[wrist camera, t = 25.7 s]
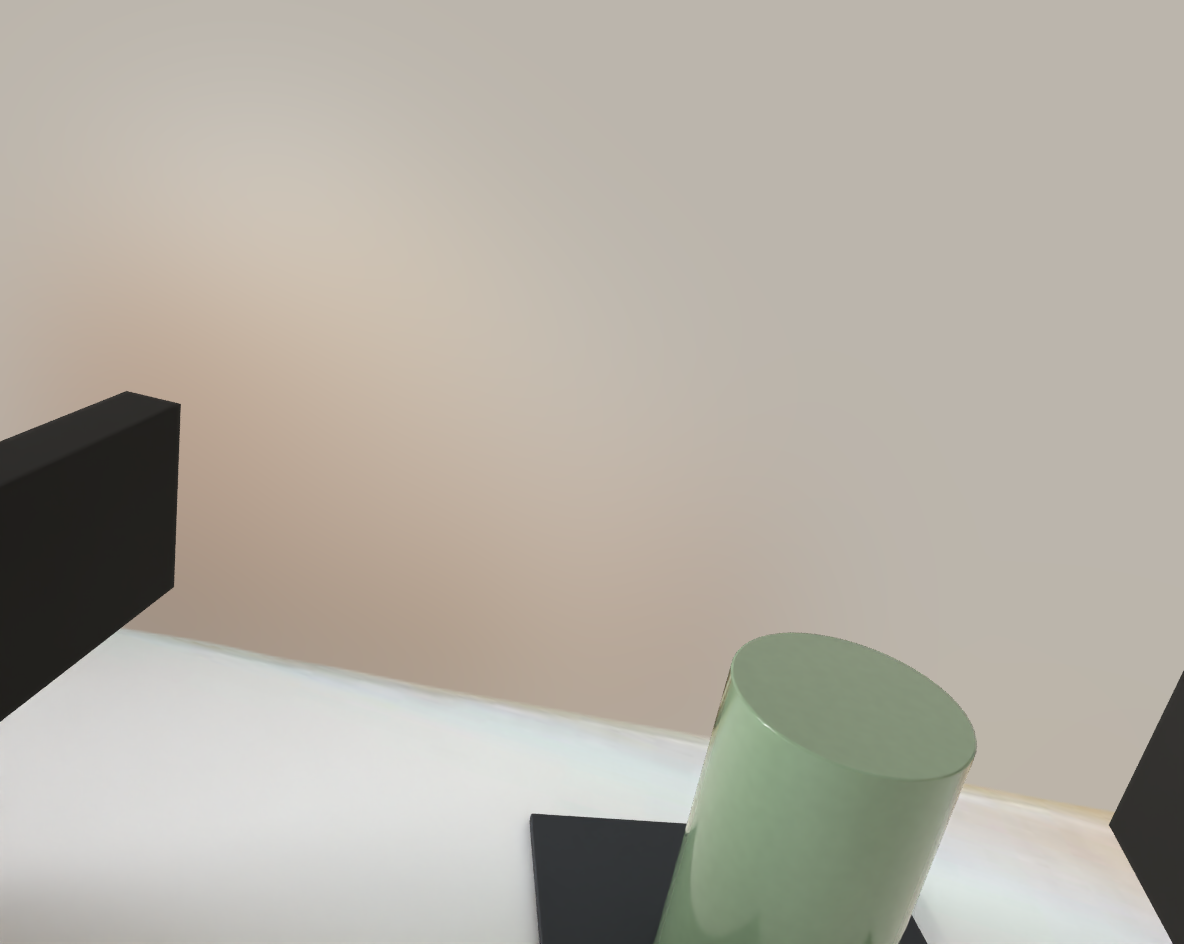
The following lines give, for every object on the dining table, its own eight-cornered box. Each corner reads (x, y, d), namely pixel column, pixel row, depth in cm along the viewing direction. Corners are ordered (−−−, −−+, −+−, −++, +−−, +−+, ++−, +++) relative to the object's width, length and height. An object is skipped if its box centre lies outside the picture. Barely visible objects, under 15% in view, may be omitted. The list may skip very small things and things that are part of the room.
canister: (607, 965, 30) (683, 674, 26) (728, 865, 35) (805, 610, 31) (795, 1134, 26) (916, 819, 22) (900, 993, 31) (1012, 718, 27)
